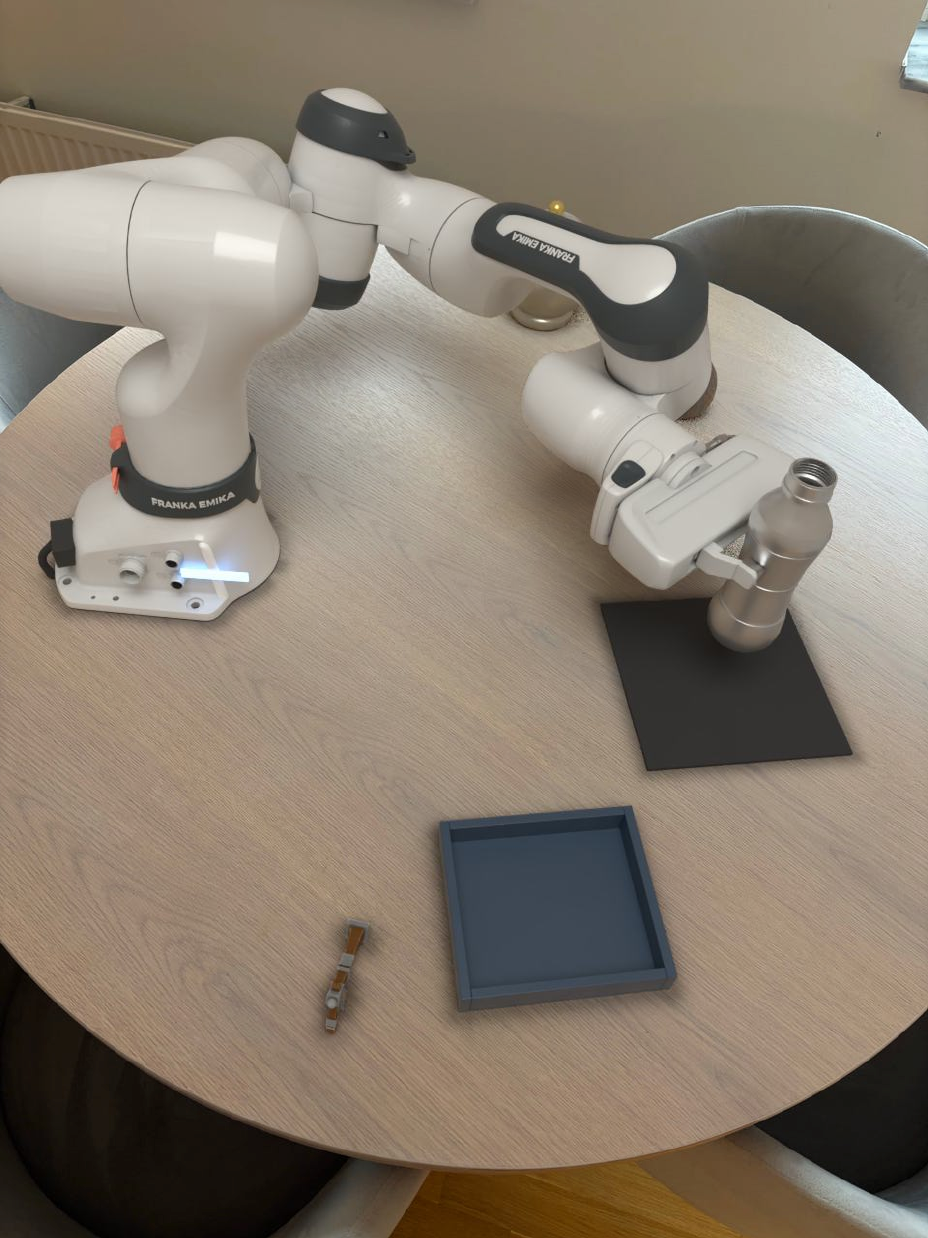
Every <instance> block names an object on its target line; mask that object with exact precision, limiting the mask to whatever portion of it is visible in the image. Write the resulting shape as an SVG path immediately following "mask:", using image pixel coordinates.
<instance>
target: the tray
mask: <svg viewBox="0 0 928 1238" xmlns="http://www.w3.org/2000/svg"><path fill="white" fill-rule="evenodd" d="M437 831H438V832H437V841H438V842H437V843H438V844H437V845H438V852H439V859H440V867H441V877H442V885H443V892H444V901H445V909H446V917H447V926H448V933H449V942H450V943H449V944H450V950H451V958H452V967H453V974H454V976H453V977H454V984H455V993H456V1002H457V1007H458V1008H457V1010H458V1013H467V1012H475V1011H485V1010H492V1009H494V1010H495V1009H502V1008H510V1007H521V1006H529V1005H537V1004H547V1003H548V1004H549V1003H556V1002H557V1003H558V1002H565V1001H575V1000H583V999H593V998H601V997H602V998H603V997H611V996H620V995H627V994H638V993H646V992H656V991H665V990H670V989H671V987H672V985H673V984H674V983H675V982H676V980H677V978H678V973H677V969H676V965H675V961H674V957H673V954H672V950H671V945H670V942H669V937H668V935H667V931H666V927H665V923H664V921H663V916H662V913H661V908H660V904H659V902H658V901H659V900H658V898H657V894H656V890H655V887H654V883H653V879H652V875H651V871H650V868H649V864H648V861H647V857H646V853H645V850H644V845H643V842H642V838H641V834H640V831H639V827H638V824H637V819H636V816H635V812H634V808H633V805H621V806H607V807H597V808H586V809H585V808H584V809H574V810H573V809H572V810H562V811H549V812H548V811H547V812H538V813H537V812H535V813H523V814H512V815H501V816H500V815H499V816H488V817H477V818H465V819H453V820H452V819H451V820H442V821H439V823H438V830H437Z"/></svg>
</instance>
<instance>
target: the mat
mask: <svg viewBox="0 0 928 1238" xmlns="http://www.w3.org/2000/svg"><path fill="white" fill-rule="evenodd" d="M713 597H714V596H710V597H709V596H708V597H691V598H690V597H689V598H672V599H669V598H668V599H654V600H633V601H616V602H614V601H612V602H600V604H599V608H600V611H601V616H602V618H603V621H604V625H605V628H606V629H605V630H606V633H607V636H608V640H609V642H610V646H611V649H612V653H613V656H614V660H615V663H616V667H617V670H618V674H619V677H620V682H621V684H622V687H623V688H622V689H623V691H624V692H623V693H624V696H625V699H626V701H627V705H628V709H629V712H630V715H631V719H632V724H633V726H634V729H635V733H636V736H637V740H638V744H639V747H640V751H641V755H642V758H643V761H644V764H645V769H646V771H647V772H656V771H657V772H658V771H668V770H670V771H671V770H680V769H693V768H708V767H719V766H732V765H733V766H735V765H744V764H745V765H746V764H747V765H748V764H758V763H769V762H770V763H772V762H783V761H784V762H785V761H796V760H809V759H821V758H822V759H823V758H833V757H847V756H852V755H853V754H854V752H853V750H852V747H851V745H850V744H849V741H848V739H847V736H846V735H845V732H844V730H843V727H842V726H841V723H840V721H839V719H838V716H837V714H836V711H835V710H834V708H833V706H832V703H831V701H830V699H829V697H828V694H827V692H826V690H825V688H824V685H823V683H822V681H821V679H820V677H819V675H818V672H817V670H816V667H815V665H814V663H813V661H812V659H811V656H810V654H809V652H808V650H807V648H806V645H805V643H804V641H803V638H802V636H801V634H800V632H799V630H798V627H797V626H796V625H797V624H796V623H795V621H794V618H793V616H792V614H791V612H790V610H789V608H788V607H789V606H788V607H787V609H786V614H785V619H784V622H783V625H782V628H781V631H780V633H779V635H778V636H777V638H776V639H775V640H774V641H773V642H772V643H771V644H770V645H769V646H768V647H766V648H764V649H762V650H759V651H755V652H747V653H745V652H738V651H734V650H731V649H729V648H727V647H725V646H723V645H722V644H721V643H720V642H718V641H717V640H716V639H715V637H714V636H713V634H712V633H711V631H710V629H709V626H708V623H707V615H708V609H709V604H710V602H711V600H712V598H713Z"/></svg>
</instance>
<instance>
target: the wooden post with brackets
mask: <svg viewBox="0 0 928 1238" xmlns="http://www.w3.org/2000/svg"><path fill="white" fill-rule="evenodd" d="M346 921H347V922H346V928H345V936H344V939H346V940H347V943H346V948H345V950H344V952H342V954H341V958H340V961H339V962H338V965H337V966H336V967H337V968H336V970H335V978H334V980H332V981H331V984H330V987H329V989H328V991H327V993H326V998H325V1005H326V1006H327V1008H328V1013H327V1015H326V1020H325V1032H326V1033H329V1034H332V1035H334V1034H335V1032H336V1029H337V1023H338V1019H339V1013H340V1011H344V1009H345V1003H346V1000H347V997H348V989H347V987H346V986H345V985H346V982H349V980H350V976H351V974H352V973H351V972H352V970H353V967H354V965H355V960H356V959H355V958H356V955H357V953H358V950H359V948H360V946H361V945H362V943H363V944H367V941H368V940H369V935H370V934H369V933H370V928H371V927H370V926H371V922H367V921H362V920H357V919H352V918H347V920H346Z"/></svg>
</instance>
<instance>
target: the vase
mask: <svg viewBox="0 0 928 1238" xmlns="http://www.w3.org/2000/svg"><path fill="white" fill-rule="evenodd" d="M711 362H712V374H711V380H710V384H709V387H708V389H707V391H706V392H705V394H704V396H703V397H702V398H701V400H700V401H699V402H698V403H697V404H696V405H695V406H694V407H693V408H691V409H690V410H689V411H688V412H687V413H686V414H684V415H683V416H682V417H681V418H680V419H685V420H687V419H691V418H692V419H693V418H695V417H697V416H699V415H701V414H703V413H704V412H705V411H706V410H707V409H708V408H709V407H710V406H711V404H712V403H713V400H714V399H715V396H716V394H717V390H718V373H717V370H716V367H715V366H714V365H715V364H714V363H713V361H712V360H711Z"/></svg>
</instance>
